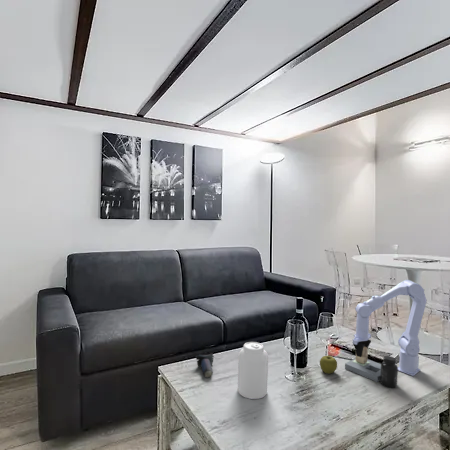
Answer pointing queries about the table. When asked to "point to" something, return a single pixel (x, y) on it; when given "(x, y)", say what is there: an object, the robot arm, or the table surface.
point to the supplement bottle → (389, 372)
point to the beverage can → (205, 364)
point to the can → (252, 371)
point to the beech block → (363, 356)
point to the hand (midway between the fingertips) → (361, 355)
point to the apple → (328, 364)
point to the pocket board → (365, 369)
